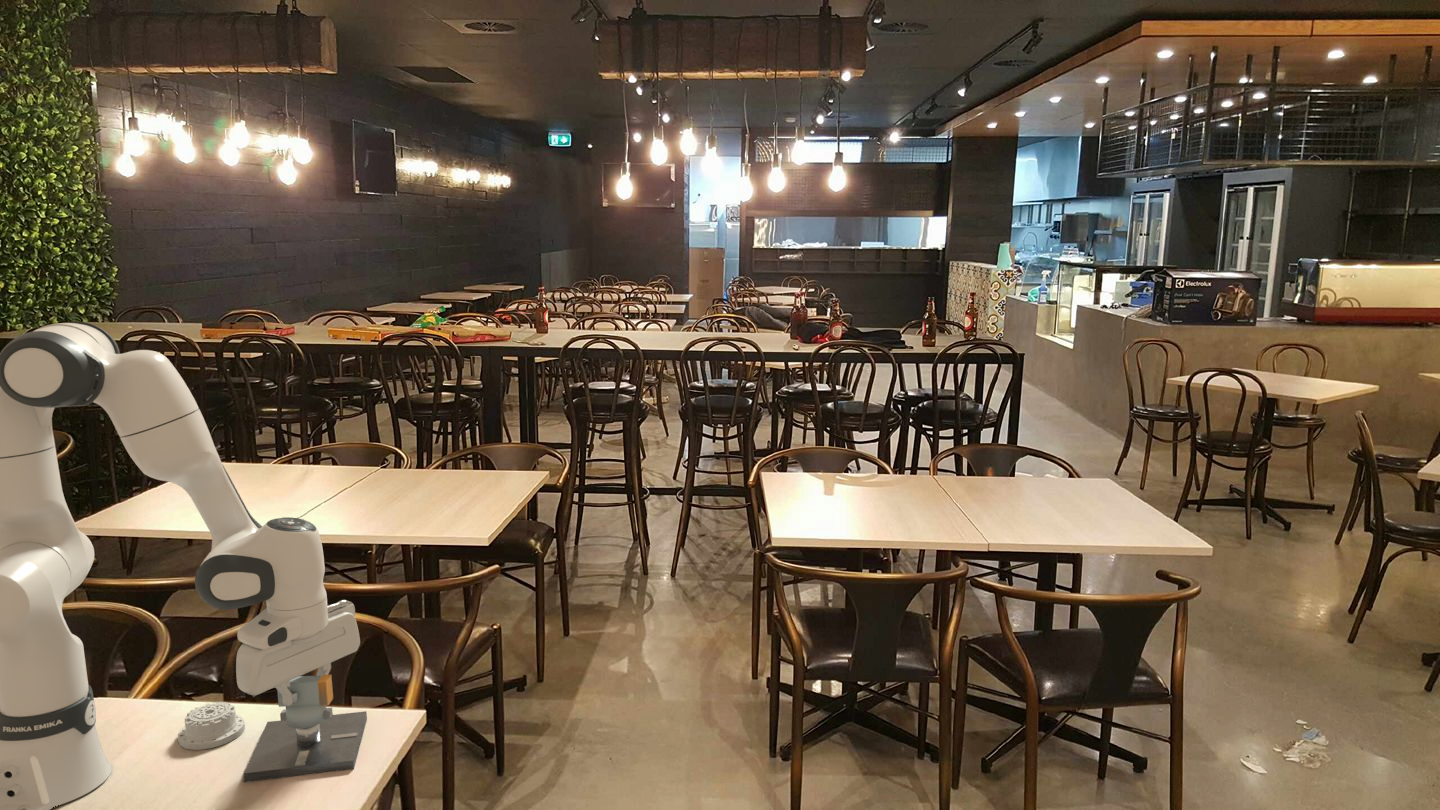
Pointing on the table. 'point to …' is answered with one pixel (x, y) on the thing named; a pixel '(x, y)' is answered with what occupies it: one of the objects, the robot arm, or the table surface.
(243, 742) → the table surface
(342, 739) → the post plate
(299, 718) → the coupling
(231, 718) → the mechanical component
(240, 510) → the robot arm
